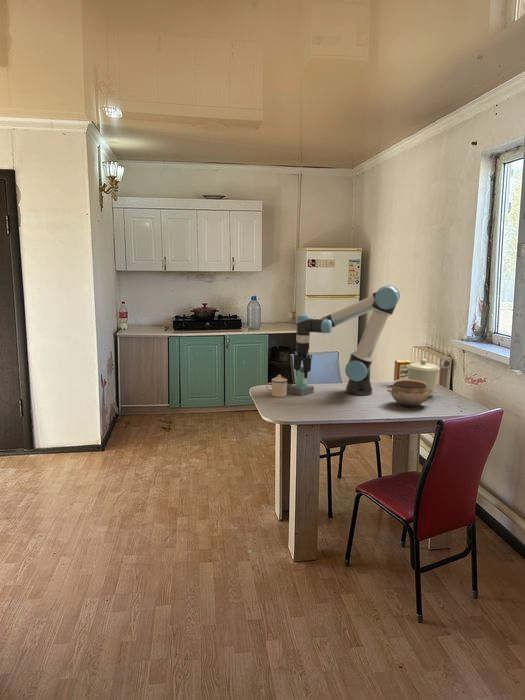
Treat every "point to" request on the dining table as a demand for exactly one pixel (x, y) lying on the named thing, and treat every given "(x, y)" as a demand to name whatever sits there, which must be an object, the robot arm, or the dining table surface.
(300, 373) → the aqua plug
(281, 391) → the teacup with lid
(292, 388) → the port panel
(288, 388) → the frame
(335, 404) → the dining table surface
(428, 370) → the canister
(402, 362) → the baking soda box
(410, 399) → the cooking pot
